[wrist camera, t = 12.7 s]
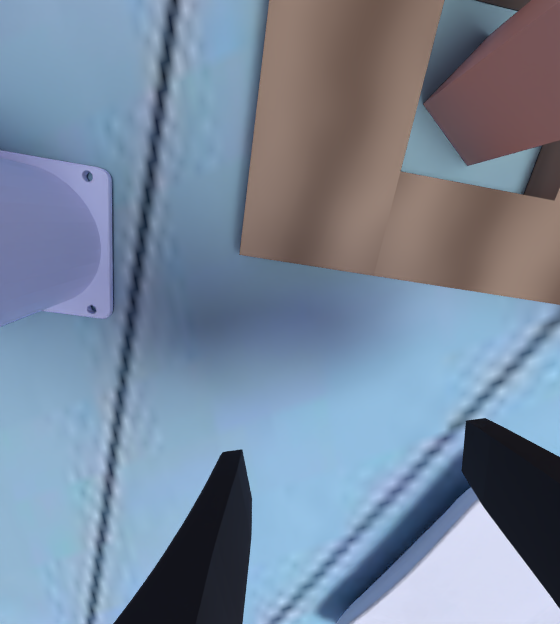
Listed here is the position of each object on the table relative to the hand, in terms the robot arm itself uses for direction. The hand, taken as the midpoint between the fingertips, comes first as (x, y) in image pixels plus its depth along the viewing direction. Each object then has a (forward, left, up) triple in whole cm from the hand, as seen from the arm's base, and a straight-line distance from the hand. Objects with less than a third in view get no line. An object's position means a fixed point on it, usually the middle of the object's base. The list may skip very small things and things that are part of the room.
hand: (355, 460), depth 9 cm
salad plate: (+19, -20, -10) cm, 29 cm away
